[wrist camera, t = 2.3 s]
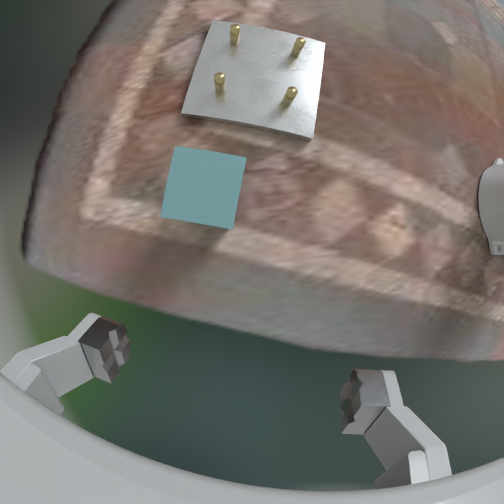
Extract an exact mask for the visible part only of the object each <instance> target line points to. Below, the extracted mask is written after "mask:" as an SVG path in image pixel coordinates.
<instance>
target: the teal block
mask: <svg viewBox="0 0 504 504" xmlns="http://www.w3.org/2000/svg"><path fill="white" fill-rule="evenodd" d="M245 163H246V157H241V156H235V155H230V154H224V153H218V152H212V151H206V150H200V149H193V148H186V147H179V146H175V149H174V153H173V158H172V162H171V166H170V171H169V175H168V180H167V185H166V189H165V194H164V199H163V204H162V210H161V215H160V217H164V218H170V219H176V220H182V221H187V222H193V223H199V224H204V225H210V226H215V227H221V228H226V229H232V230H233V224H234V219H235V214H236V209H237V203H238V198H239V193H240V188H241V183H242V178H243V173H244V168H245Z"/></svg>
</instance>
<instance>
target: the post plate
mask: <svg viewBox="0 0 504 504" xmlns="http://www.w3.org/2000/svg"><path fill="white" fill-rule="evenodd" d="M324 49H325V43H323V42H320V41H317V40H313V39H310V38H306V37H302V36H299V35H295V34H291V33H286V32H282V31H278V30H273V29H268V28H263V27H257V26H252V25H245V24H239V23H231V22H223V21H212V24H211V26H210V29H209V31H208V34H207V37H206V39H205V42H204V44H203V47H202V50H201V53H200V55H199V58H198V61H197V64H196V67H195V70H194V73H193V76H192V79H191V82H190V85H189V88H188V91H187V95H186V98H185V101H184V105H183V108H182V112H181V114H182V117H189V118H197V119H204V120H211V121H217V122H224V123H230V124H235V125H241V126H246V127H251V128H256V129H261V130H266V131H270V132H275V133H279V134H284V135H288V136H292V137H296V138H300V139H304V140H308V141H311V140H312V139H313V134H314V127H315V120H316V113H317V106H318V98H319V91H320V83H321V75H322V66H323V58H324Z"/></svg>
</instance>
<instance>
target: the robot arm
mask: <svg viewBox="0 0 504 504" xmlns="http://www.w3.org/2000/svg"><path fill="white" fill-rule="evenodd" d="M478 200H479V212H480V218H481V222H482V225H483V228H484V231H485V233H486V235H487V237H488V240H489V247H490V252H491V254H492V255H504V162H503V160H502V159H501V158H496V159H495V161H494V163H493V165H492V166H491V167H489V168H487V169H486V170H485V171H484V173H483V175H482V177H481V180H480V185H479V196H478ZM126 333H127V329H126V325H124V324H123V323H120V322H117V321H114V320H111V319H108V318H106V317H103V316H100V315H97V314H95V313H90V314H88V315H87V316H86V317H85V318H84V319H83V321H82V322H80V324H79V325H78V326H77V327H76V328H75V329H74V330H73V331H72V332H71V333H70V334H69V335H68V336H67V337H66V336H62V337H60V338H57V339H54V340H51V341H49V342H46V343H43V344H40V345H37V346H35V347H32V348H29V349H26V350H23V351H21V352H18V353H17V354H16V355H15V356H14V357H13V358H12V359H11V360H10V362H9V363H8V364H7V365H6V366H5V367H4V368H3V369H2V370H1V371H0V504H504V457H503V458H501V459H498V460H496V461H493V462H491V463H488V464H486V465H483V466H480V467H477V468H474V469H472V470H468V471H465V472H461V473H458V474H454V475H452V473H451V468H450V463H449V458H448V454H447V449H446V445H445V444H444V443H443V442H442V441H441V440H440V439H439V438H438V437H437V436H436V435H435V434H434V433H433V432H432V431H431V430H430V429H429V428H428V427H427V426H426V425H425V424H424V423H423V422H422V421H421V420H420V419H419V418H418V417H417V416H416V415H415V414H414V413H413V412H412V411H411V410H410V409H409V408H408V407H407V406H406V407H405V406H404V405H403V401H402V397H401V393H400V389H399V385H398V382H397V379H396V375H395V372H394V371H383V370H382V371H379V370H364V369H354V370H353V371H352V372H351V374H350V376H349V377H350V381H349V382H347V383H346V384H345V385H344V387H343V389H342V393H341V397H340V408H341V410H343V412H344V414H343V416H342V417H341V432H342V433H344V434H364V435H363V436H364V437H365V439H366V440H367V442H368V443H369V445H370V446H371V448H372V449H373V451H374V452H375V454H376V455H377V457H378V458H379V460H380V461H381V462H382V464H383V466H384V467H385V469H386V470H387V471H386V472H385V473H384V474H383V475H381V476H380V477H378V478H377V479H376V480H375V481H374V485H375V489H371V490H357V491H301V490H287V489H276V488H267V487H260V486H252V485H246V484H241V483H235V482H230V481H225V480H220V479H216V478H211V477H207V476H203V475H199V474H195V473H192V472H188V471H185V470H181V469H178V468H175V467H172V466H169V465H166V464H163V463H159V462H156V461H154V460H151V459H148V458H146V457H143V456H141V455H138V454H136V453H133V452H131V451H128V450H126V449H124V448H121V447H119V446H117V445H115V444H112V443H110V442H108V441H106V440H104V439H102V438H100V437H98V436H96V435H94V434H92V433H90V432H88V431H86V430H84V429H82V428H80V427H79V426H77V425H75V424H73V423H72V422H70V421H68V420H66V419H65V418H63V417H61V416H60V415H61V413H62V412H63V410H64V407H63V405H62V404H61V402H60V400H59V399H58V397H60V396H62V395H63V394H65V393H67V392H69V391H70V390H72V389H74V388H76V387H78V386H79V385H81V384H83V383H85V382H86V381H88V380H90V379H92V378H93V376H94V377H97V378H99V379H102V380H104V381H107V382H109V383H112V382H113V381H114V379H115V377H116V376H117V374H118V373H119V366H120V365H122V364H124V363H125V362H126V361H127V359H128V357H129V354H130V341H129V340H128V338H127V337H126V336H125V334H126Z"/></svg>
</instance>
